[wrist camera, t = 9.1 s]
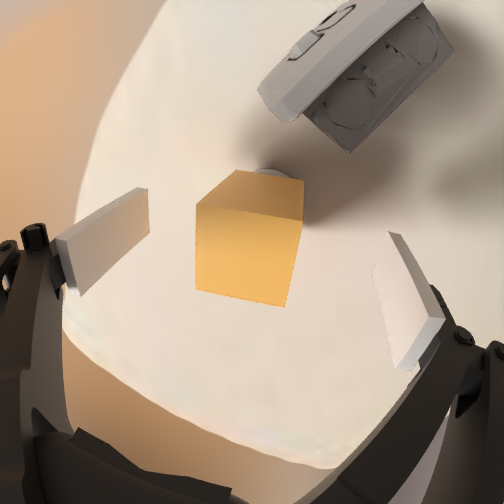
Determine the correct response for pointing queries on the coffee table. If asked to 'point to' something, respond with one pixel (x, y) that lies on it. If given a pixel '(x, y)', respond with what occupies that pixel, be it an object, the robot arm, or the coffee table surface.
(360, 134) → the electrical switch
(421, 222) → the coffee table surface
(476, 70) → the coffee table surface
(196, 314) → the coffee table surface
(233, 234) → the yellow upright square block
